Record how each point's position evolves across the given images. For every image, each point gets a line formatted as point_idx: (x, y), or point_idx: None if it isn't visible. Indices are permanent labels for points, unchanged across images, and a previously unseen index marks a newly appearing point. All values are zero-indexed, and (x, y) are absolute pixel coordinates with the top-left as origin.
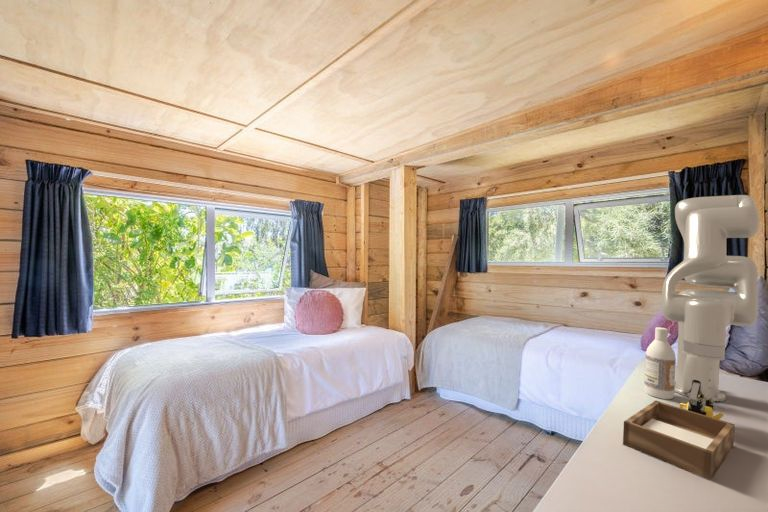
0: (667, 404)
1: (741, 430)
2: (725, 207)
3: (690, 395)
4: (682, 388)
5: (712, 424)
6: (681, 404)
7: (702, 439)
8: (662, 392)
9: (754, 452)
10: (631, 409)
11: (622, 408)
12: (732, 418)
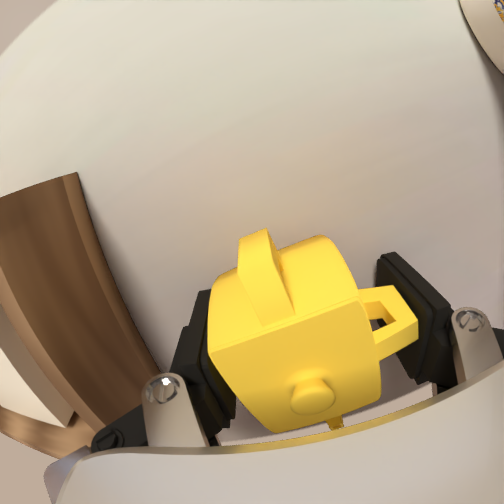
0: (6, 296)
1: (396, 371)
2: None
3: (50, 490)
4: (56, 502)
5: None
6: (243, 284)
7: (30, 405)
8: (501, 37)
9: (218, 435)
10: (100, 25)
11: (70, 15)
12: (492, 302)
